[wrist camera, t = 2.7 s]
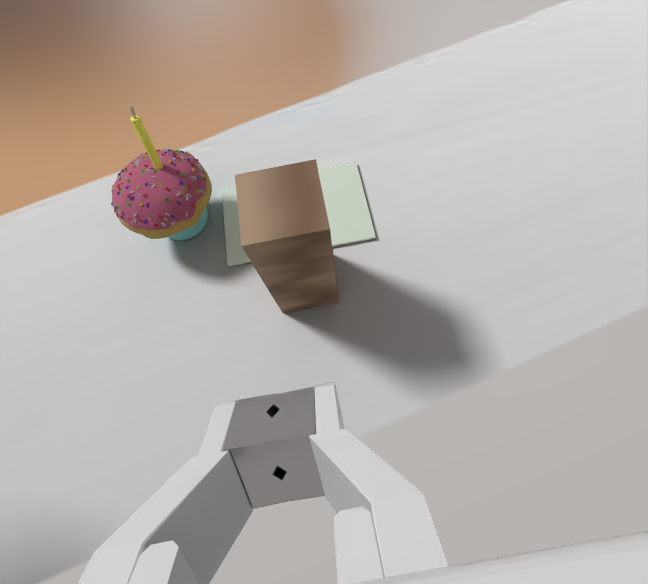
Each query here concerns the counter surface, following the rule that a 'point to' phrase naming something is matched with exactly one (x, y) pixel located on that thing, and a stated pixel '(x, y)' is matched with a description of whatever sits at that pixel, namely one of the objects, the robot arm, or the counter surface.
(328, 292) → the block
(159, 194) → the cupcake
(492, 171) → the counter surface
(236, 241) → the mat
